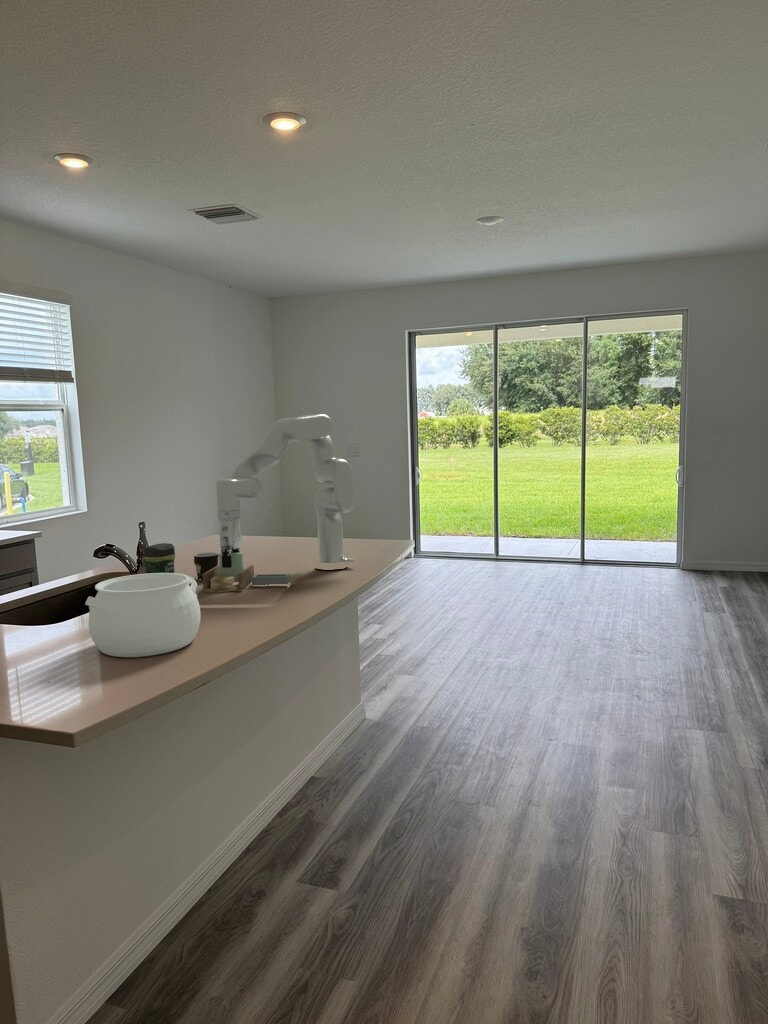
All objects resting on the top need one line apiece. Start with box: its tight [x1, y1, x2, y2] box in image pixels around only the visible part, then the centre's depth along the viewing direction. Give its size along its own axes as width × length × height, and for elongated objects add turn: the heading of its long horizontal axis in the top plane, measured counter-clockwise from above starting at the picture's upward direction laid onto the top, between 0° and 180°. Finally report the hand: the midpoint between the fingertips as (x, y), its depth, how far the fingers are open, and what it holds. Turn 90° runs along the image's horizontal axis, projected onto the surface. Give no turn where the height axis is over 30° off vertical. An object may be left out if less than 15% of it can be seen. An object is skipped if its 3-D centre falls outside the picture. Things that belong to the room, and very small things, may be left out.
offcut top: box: [211, 576, 235, 585], centre depth 232 cm, size 7×4×2 cm, turn 90°
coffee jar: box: [143, 542, 176, 574], centre depth 221 cm, size 10×8×19 cm
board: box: [218, 552, 245, 582], centre depth 239 cm, size 8×2×11 cm, turn 85°
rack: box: [202, 564, 255, 593], centre depth 236 cm, size 13×15×7 cm
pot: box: [84, 573, 201, 658], centre depth 174 cm, size 29×26×16 cm
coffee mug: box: [193, 551, 219, 580], centre depth 252 cm, size 12×9×10 cm
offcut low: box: [211, 582, 239, 588], centre depth 233 cm, size 9×4×2 cm, turn 85°
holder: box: [251, 573, 291, 586], centre depth 237 cm, size 12×6×4 cm, turn 85°
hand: (231, 564), depth 239 cm, fingers open, 9 cm apart
